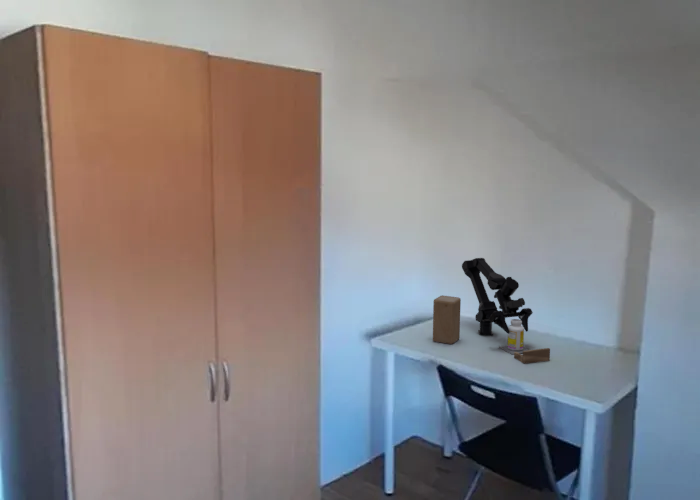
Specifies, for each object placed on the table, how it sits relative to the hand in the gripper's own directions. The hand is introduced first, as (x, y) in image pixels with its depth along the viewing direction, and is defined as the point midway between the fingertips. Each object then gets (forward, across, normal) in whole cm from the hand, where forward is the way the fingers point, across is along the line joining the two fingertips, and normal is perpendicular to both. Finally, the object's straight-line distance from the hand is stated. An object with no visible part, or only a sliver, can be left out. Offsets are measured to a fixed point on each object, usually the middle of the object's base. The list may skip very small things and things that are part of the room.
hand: (518, 332), depth 260 cm
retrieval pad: (+5, 0, +7) cm, 9 cm away
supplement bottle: (+5, 0, +7) cm, 8 cm away
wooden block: (-10, -23, +23) cm, 34 cm away
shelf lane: (+14, 0, -2) cm, 14 cm away
